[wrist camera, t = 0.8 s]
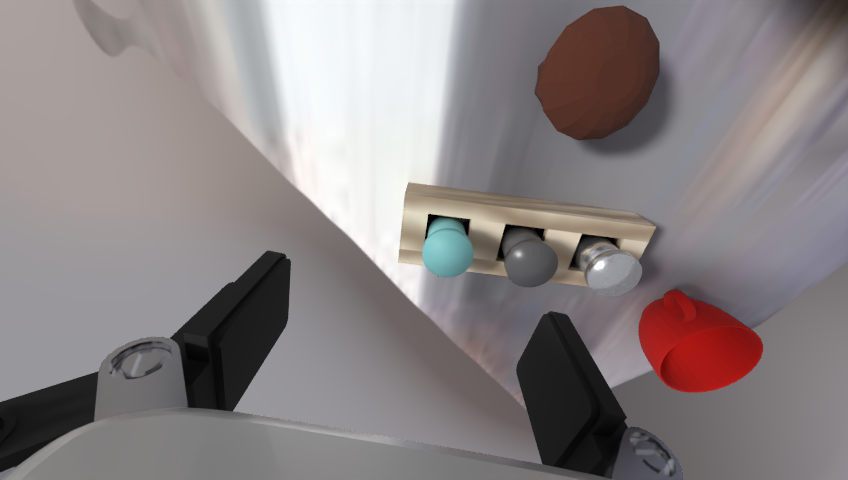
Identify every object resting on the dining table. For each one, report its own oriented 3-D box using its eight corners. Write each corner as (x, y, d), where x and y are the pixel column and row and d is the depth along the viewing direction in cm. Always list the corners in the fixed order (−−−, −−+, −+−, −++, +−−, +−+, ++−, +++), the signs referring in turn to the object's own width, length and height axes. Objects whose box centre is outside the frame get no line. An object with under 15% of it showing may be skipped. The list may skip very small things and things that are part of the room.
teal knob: (427, 209, 40) (425, 229, 35) (472, 215, 40) (478, 236, 35) (421, 249, 43) (419, 273, 37) (464, 254, 43) (468, 280, 38)
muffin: (624, 115, 38) (681, 125, 29) (533, 143, 40) (560, 161, 31) (620, 1, 33) (688, -29, 24) (516, 40, 35) (543, 26, 26)
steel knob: (577, 228, 41) (599, 251, 35) (622, 234, 41) (651, 258, 35) (562, 267, 43) (581, 294, 38) (604, 272, 44) (629, 300, 38)
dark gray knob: (502, 219, 40) (513, 240, 35) (547, 224, 41) (565, 247, 35) (492, 258, 43) (500, 284, 38) (534, 263, 43) (549, 290, 38)
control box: (408, 182, 43) (404, 194, 38) (633, 212, 44) (656, 226, 39) (401, 247, 47) (397, 264, 43) (605, 273, 48) (622, 292, 44)
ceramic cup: (692, 248, 46) (754, 288, 37) (711, 325, 52) (768, 375, 43) (604, 284, 49) (641, 328, 40) (632, 351, 55) (669, 403, 47)
